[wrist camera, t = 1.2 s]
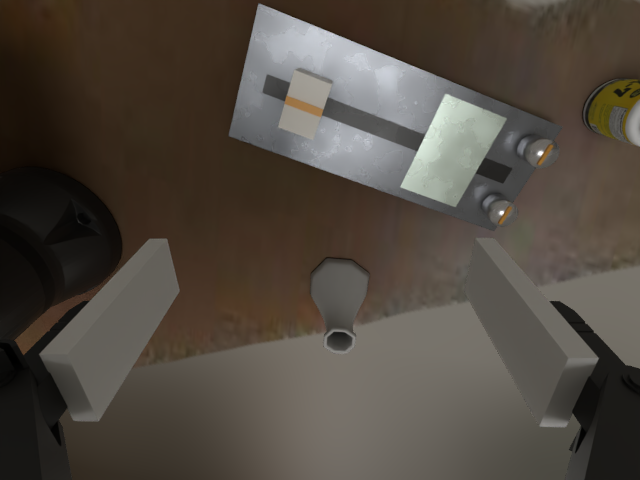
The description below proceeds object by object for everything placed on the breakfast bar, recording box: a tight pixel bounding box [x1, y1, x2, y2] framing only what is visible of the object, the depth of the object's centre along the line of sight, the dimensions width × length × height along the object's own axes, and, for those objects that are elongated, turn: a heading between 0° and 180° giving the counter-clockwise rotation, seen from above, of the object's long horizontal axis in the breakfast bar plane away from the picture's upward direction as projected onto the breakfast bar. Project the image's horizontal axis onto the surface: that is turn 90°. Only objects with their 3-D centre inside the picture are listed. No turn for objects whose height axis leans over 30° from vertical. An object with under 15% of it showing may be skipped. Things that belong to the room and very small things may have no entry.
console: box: [229, 3, 562, 231], centre depth 32 cm, size 28×11×5 cm, turn 71°
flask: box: [310, 258, 370, 354], centre depth 39 cm, size 7×7×10 cm
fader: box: [278, 68, 333, 140], centre depth 30 cm, size 3×4×4 cm
